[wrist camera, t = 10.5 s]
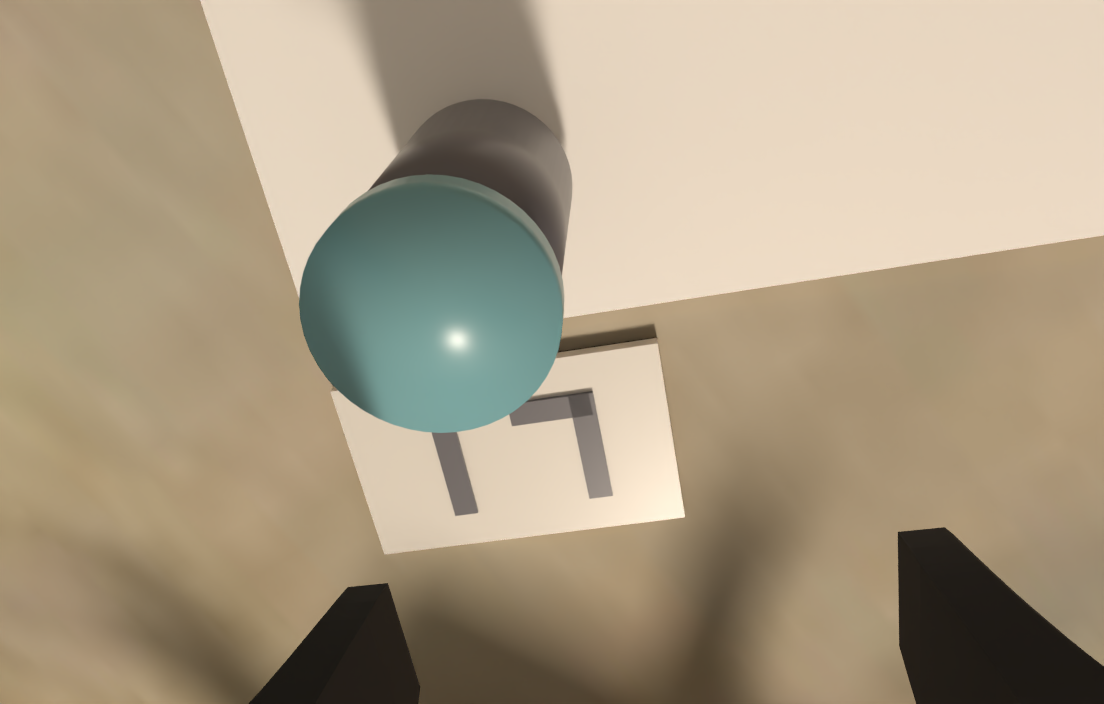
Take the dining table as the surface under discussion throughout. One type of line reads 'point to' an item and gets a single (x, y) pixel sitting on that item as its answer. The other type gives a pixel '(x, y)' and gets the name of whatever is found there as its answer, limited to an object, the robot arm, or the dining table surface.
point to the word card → (528, 459)
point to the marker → (446, 273)
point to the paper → (700, 125)
